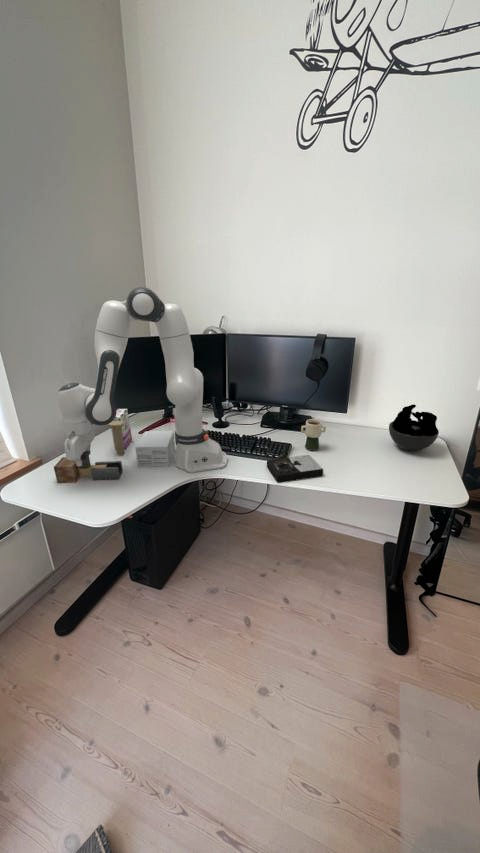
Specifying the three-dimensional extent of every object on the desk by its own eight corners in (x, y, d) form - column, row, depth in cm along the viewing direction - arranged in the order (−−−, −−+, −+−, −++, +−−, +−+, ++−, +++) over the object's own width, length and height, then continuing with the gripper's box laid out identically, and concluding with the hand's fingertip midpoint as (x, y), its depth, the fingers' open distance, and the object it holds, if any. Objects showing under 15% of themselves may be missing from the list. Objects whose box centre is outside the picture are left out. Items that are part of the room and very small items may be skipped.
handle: (125, 456, 154) (121, 425, 148) (111, 456, 155) (106, 425, 149) (129, 451, 159) (125, 421, 153) (115, 451, 159) (110, 420, 153)
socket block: (83, 472, 142) (80, 456, 140) (76, 482, 135) (72, 466, 132) (65, 472, 142) (62, 457, 139) (57, 483, 135) (53, 467, 132)
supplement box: (169, 467, 146) (167, 446, 142) (137, 467, 146) (134, 447, 142) (175, 448, 162) (173, 430, 158) (146, 449, 161) (144, 430, 158)
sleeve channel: (123, 472, 142) (121, 461, 140) (119, 479, 137) (117, 468, 135) (97, 472, 142) (95, 461, 140) (92, 480, 136) (90, 469, 134)
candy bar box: (122, 440, 170) (117, 408, 164) (132, 440, 170) (128, 408, 164) (114, 450, 160) (108, 417, 153) (125, 450, 160) (120, 417, 153)
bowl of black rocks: (428, 463, 147) (438, 421, 139) (380, 450, 158) (386, 411, 151) (438, 446, 161) (447, 407, 154) (392, 435, 173) (399, 399, 165)
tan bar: (108, 471, 140) (105, 450, 136) (106, 475, 137) (102, 454, 134) (67, 472, 139) (62, 451, 136) (64, 476, 137) (59, 455, 133)
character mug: (322, 444, 164) (324, 418, 159) (325, 451, 157) (328, 425, 152) (298, 445, 164) (300, 419, 159) (301, 452, 157) (302, 425, 152)
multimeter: (266, 467, 145) (266, 456, 144) (309, 461, 150) (309, 451, 148) (277, 484, 134) (277, 472, 132) (323, 477, 138) (324, 466, 136)
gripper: (75, 438, 121) (82, 473, 126) (95, 416, 140) (100, 448, 145) (56, 438, 121) (64, 473, 126) (78, 417, 140) (85, 448, 145)
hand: (84, 459), depth 136 cm, fingers open, 7 cm apart
